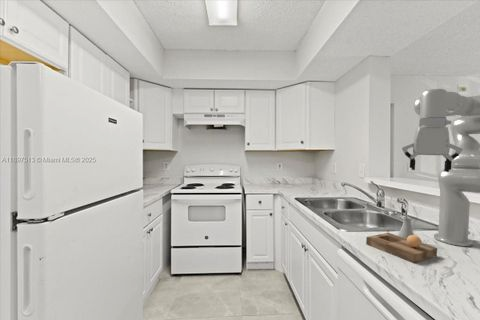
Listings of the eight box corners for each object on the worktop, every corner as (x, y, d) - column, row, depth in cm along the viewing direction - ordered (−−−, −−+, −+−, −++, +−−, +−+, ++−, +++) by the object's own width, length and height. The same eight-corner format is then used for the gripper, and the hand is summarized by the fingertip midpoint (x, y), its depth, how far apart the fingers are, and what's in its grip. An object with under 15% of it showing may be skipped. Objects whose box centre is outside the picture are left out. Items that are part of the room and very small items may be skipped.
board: (388, 239, 102) (388, 232, 102) (436, 256, 86) (437, 248, 86) (366, 244, 97) (366, 236, 96) (413, 263, 80) (414, 254, 80)
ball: (410, 244, 90) (411, 232, 89) (423, 248, 86) (424, 236, 85) (403, 245, 88) (404, 234, 88) (416, 250, 84) (417, 238, 84)
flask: (397, 236, 106) (398, 214, 106) (417, 240, 102) (418, 217, 101) (395, 241, 101) (396, 218, 100) (416, 245, 96) (417, 221, 96)
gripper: (460, 125, 85) (457, 172, 85) (402, 126, 93) (400, 169, 94) (467, 121, 78) (464, 173, 78) (404, 123, 87) (401, 169, 87)
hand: (429, 170), depth 86 cm, fingers open, 9 cm apart
